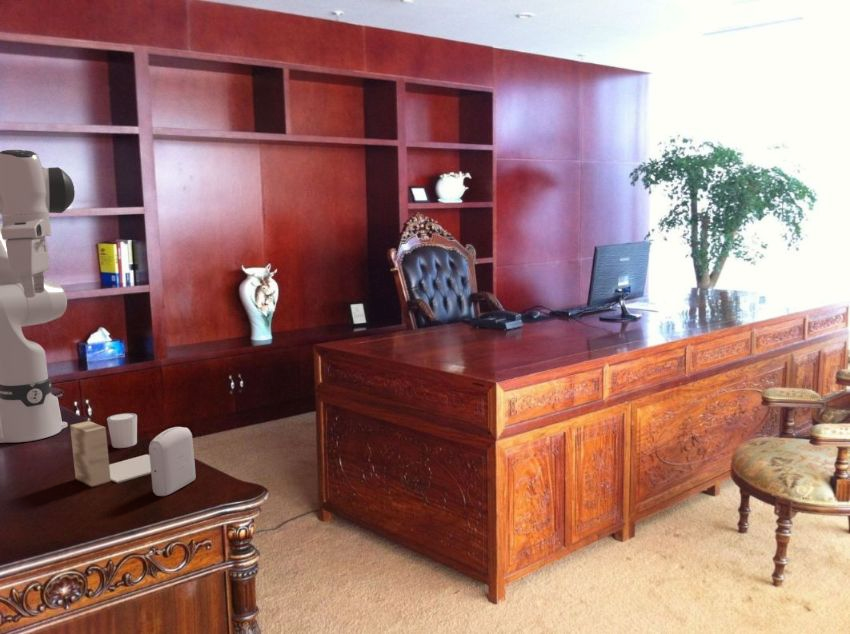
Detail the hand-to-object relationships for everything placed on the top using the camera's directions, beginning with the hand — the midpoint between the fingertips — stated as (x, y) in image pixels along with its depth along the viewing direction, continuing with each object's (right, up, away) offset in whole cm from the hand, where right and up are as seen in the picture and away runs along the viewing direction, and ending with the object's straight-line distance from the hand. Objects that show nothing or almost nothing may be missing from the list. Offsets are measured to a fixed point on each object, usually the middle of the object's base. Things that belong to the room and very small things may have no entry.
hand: (35, 295), depth 169 cm
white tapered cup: (+9, -36, +27) cm, 46 cm away
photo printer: (+30, -40, -3) cm, 50 cm away
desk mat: (+17, -38, +9) cm, 43 cm away
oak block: (+11, -40, +2) cm, 41 cm away
